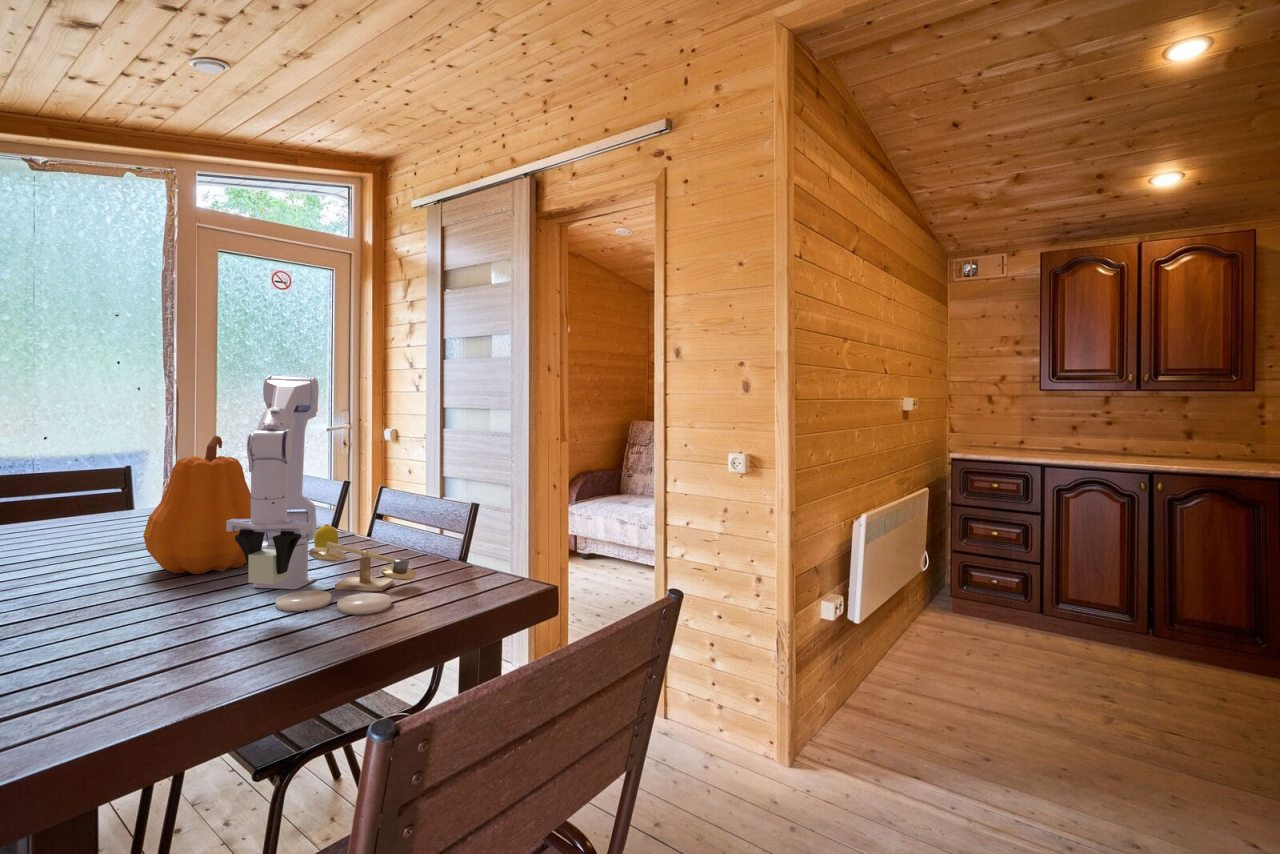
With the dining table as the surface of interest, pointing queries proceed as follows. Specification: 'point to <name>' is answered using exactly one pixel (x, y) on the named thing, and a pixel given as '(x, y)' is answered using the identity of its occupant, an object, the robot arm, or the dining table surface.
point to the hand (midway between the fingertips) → (268, 572)
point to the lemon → (326, 536)
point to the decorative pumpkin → (200, 515)
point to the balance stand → (364, 579)
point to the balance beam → (394, 572)
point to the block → (264, 568)
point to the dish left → (303, 600)
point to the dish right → (364, 603)
